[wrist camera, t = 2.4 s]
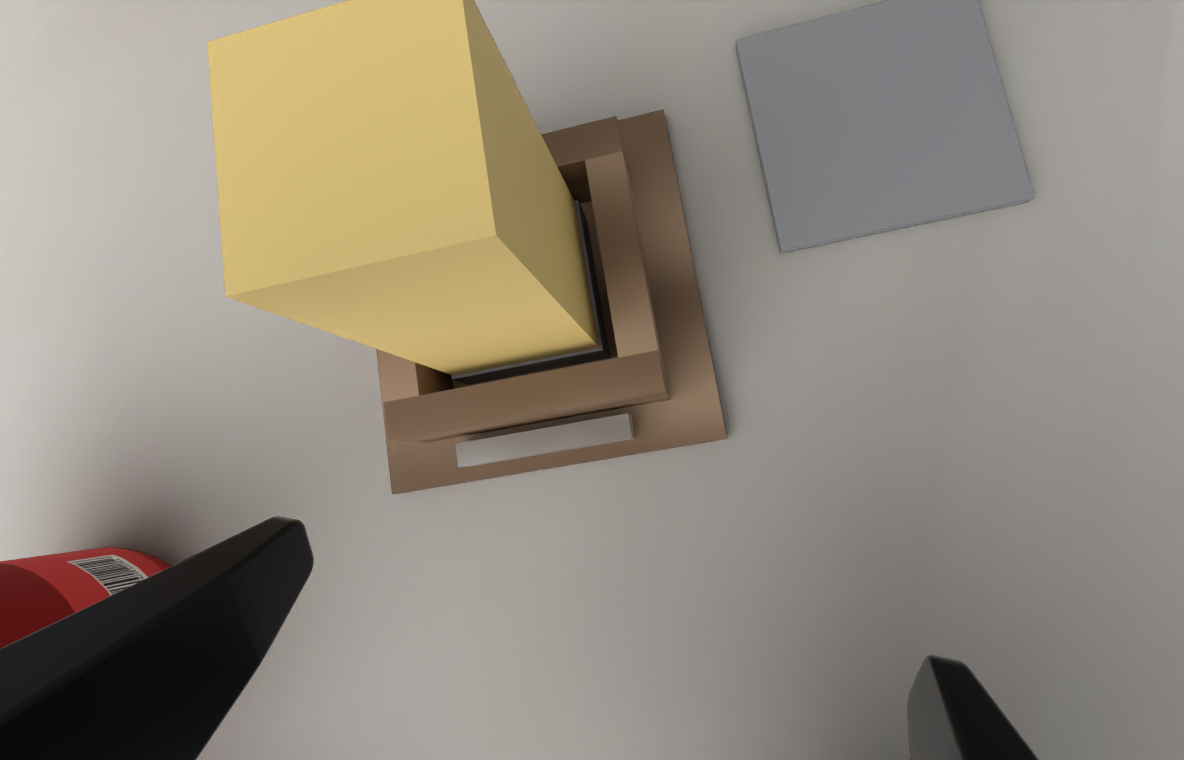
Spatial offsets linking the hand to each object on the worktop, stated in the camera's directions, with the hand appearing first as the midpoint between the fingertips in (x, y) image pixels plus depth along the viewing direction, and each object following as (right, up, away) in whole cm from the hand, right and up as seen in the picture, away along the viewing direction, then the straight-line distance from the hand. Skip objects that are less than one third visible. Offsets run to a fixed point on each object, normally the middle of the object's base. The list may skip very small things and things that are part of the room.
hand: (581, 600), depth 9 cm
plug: (-2, +6, +14) cm, 15 cm away
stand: (+10, +12, +13) cm, 20 cm away
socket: (-2, +6, +14) cm, 16 cm away
